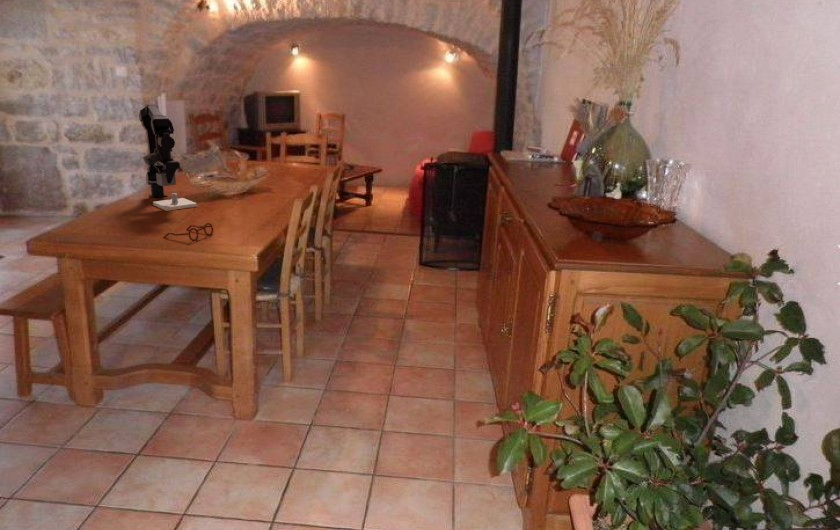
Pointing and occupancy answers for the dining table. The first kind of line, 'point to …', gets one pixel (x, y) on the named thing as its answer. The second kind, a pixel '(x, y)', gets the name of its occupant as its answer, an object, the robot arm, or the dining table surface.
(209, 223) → the glasses
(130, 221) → the dining table surface
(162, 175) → the grey box housing
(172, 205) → the base plate
